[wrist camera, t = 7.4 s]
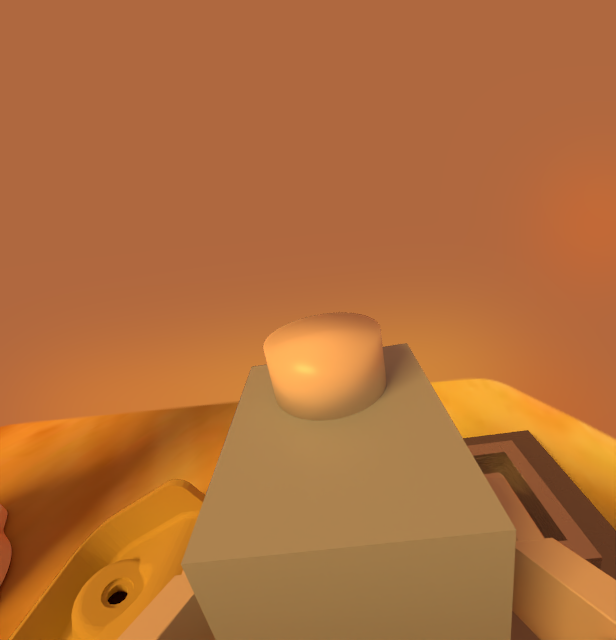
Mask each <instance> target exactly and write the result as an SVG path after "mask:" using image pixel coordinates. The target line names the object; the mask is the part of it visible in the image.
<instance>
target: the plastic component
mask: <svg viewBox="0 0 616 640" xmlns="http://www.w3.org/2000/svg"><path fill="white" fill-rule="evenodd" d="M204 498H205V495H204V494H203V493H202V492H200V491H199V490H198V489H197V488H195V487H194V486H193V485H192V484H190V483H189V482H187V481H185V480H180V479H174V480H169V481H168V482H166V483H164V484H163V485H161V486H160V487H158V488H156V489H155V490H153V491H151V492H150V493H148V494H146V495H145V496H143V497H142V498H140V499H138V500H137V501H135V502H133V503H132V504H130V505H129V506H127V507H125V508H124V509H122V510H120V511H119V512H117V513H116V514H114V515H113V516H111V517H110V518H109V519H107V520H106V521H105V522H104V523H103V524H101V525H100V526H99V527H98V528H97V529H96V530H95V531H94V532H93V533H92V534H91V535H90V536H89V537H88V538H87V539H86V540H85V541H84V542H83V543H82V544H81V545H80V547H79V548H78V549H77V550H76V551H75V552H74V554H73V555H72V556H71V557H70V559H69V560H68V561H67V563H66V564H65V565H64V567H63V568H62V569H61V571H60V572H59V573H58V574H57V576H56V577H55V578H54V580H53V581H52V582H51V584H50V585H49V586H48V588H47V589H46V590H45V592H44V593H43V594H42V596H41V597H40V598H39V600H38V601H37V602H36V603H35V605H34V606H33V607H32V609H31V610H30V611H29V613H28V614H27V615H26V617H25V618H24V619H23V621H22V622H21V623H20V625H19V626H18V627H17V628H16V630H15V631H14V632H13V634H12V635H11V636H10V638H9V639H8V640H117V639H118V638H119V637H120V635H121V634H122V633H123V632H124V631H125V630H126V629H127V628H128V627H129V626H130V624H131V623H132V622H133V621H134V620H135V619H136V618H137V617H138V616H139V615H140V614H141V612H142V611H143V610H144V609H145V608H146V607H147V606H148V605H149V604H150V603H151V601H152V600H153V599H154V598H155V597H156V596H157V595H158V594H159V593H160V592H161V590H162V589H163V588H164V587H165V586H166V585H167V584H168V583H169V582H170V581H171V579H172V578H173V577H174V576H175V575H181V574H182V571H183V568H182V566H181V562H182V560H183V557H184V554H185V551H186V548H187V546H188V543H189V540H190V537H191V535H192V532H193V529H194V526H195V523H196V521H197V518H198V515H199V512H200V509H201V507H202V504H203V501H204ZM117 591H124V592H127V596H126V598H125V599H124V600H123V601H122V602H121V603H119V604H116V605H113V604H109V602H108V599H109V598H110V597H111V595H113V594H114V593H116V592H117Z"/></svg>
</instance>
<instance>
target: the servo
mask: <svg viewBox="0 0 616 640" xmlns="http://www.w3.org/2000/svg"><path fill="white" fill-rule="evenodd" d="M263 350H264V354H265V358H266V362H267V365H260V366H253V367H251V370H250V373H249V376H248V379H247V382H246V384H245V387H244V390H243V393H242V395H241V398H240V401H239V404H238V406H237V409H236V412H235V415H234V418H233V420H232V423H231V426H230V429H229V431H228V434H227V437H226V440H225V443H224V445H223V448H222V451H221V454H220V457H219V459H218V462H217V465H216V468H215V470H214V473H213V476H212V479H211V482H210V484H209V487H208V490H207V493H206V496H205V498H204V501H203V504H202V507H201V509H200V512H199V515H198V518H197V521H196V523H195V526H194V529H193V532H192V535H191V537H190V540H189V543H188V546H187V548H186V551H185V554H184V557H183V560H182V562H181V566H182V568H183V570H184V572H185V575H186V577H187V579H188V581H189V583H190V585H191V588H192V590H193V592H194V594H195V596H196V598H197V601H198V603H199V605H200V607H201V609H202V611H203V614H204V616H205V618H206V620H207V622H208V624H209V627H210V629H211V631H212V633H213V635H214V637H215V640H511V623H512V603H513V584H514V564H515V545H516V528H515V527H514V525H513V523H512V522H511V520H510V518H509V517H508V515H507V513H506V511H505V510H504V508H503V506H502V505H501V503H500V501H499V499H498V498H497V496H496V494H495V493H494V491H493V489H492V488H491V486H490V484H489V482H488V481H487V479H486V477H485V476H484V474H483V472H482V470H481V469H480V467H479V465H478V464H477V462H476V460H475V459H474V457H473V455H472V453H471V452H470V450H469V448H468V447H467V445H466V443H465V441H464V440H463V438H462V436H461V435H460V433H459V431H458V430H457V428H456V426H455V424H454V423H453V421H452V419H451V418H450V416H449V414H448V413H447V411H446V409H445V407H444V406H443V404H442V402H441V401H440V399H439V397H438V395H437V394H436V392H435V390H434V389H433V387H432V385H431V384H430V382H429V380H428V378H427V377H426V375H425V373H424V372H423V370H422V368H421V366H420V365H419V363H418V361H417V360H416V358H415V356H414V355H413V353H412V351H411V349H410V348H409V346H408V344H407V343H405V344H399V345H393V346H386V347H382V338H381V329H380V325H379V324H378V322H376V321H375V320H374V319H372V318H370V317H368V316H365V315H361V314H355V313H327V314H320V315H314V316H310V317H306V318H302V319H299V320H296V321H293V322H291V323H289V324H286V325H284V326H282V327H280V328H279V329H277V330H276V331H274V332H273V333H272V334H270V335H269V336H268V337H267V339H266V340H265V342H264V345H263Z"/></svg>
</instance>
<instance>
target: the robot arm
mask: <svg viewBox="0 0 616 640" xmlns="http://www.w3.org/2000/svg"><path fill="white" fill-rule="evenodd" d="M484 476H485V477H486V479H487V481H488V482H489V484H490V486H491V488H492V489H493V491H494V493H495V494H496V496H497V498H498V499H499V501H500V503H501V505H502V506H503V508H504V510H505V511H506V513H507V515H508V517H509V518H510V520H511V522H512V523H513V525H514V527H515V528H516V545H515V564H514V584H513V603H512V611H513V612H514V613H515V614H516V615H517V616H518V617H519V618H520V619H521V620H522V621H523V622H524V623H525V624H526V625H527V626H528V627H529V628H530V629H531V630H532V631H533V633H534V634H535V635H536V636H537V637H538V638H539V639H540V640H616V580H615V579H614V578H612V577H611V576H609V575H608V574H606V573H605V572H603V571H602V570H600V569H599V568H597V567H596V566H594V565H593V564H591V563H590V562H588V561H587V560H585V559H584V558H582V557H581V556H579V555H578V554H576V553H575V552H573V551H572V550H570V549H569V548H567V547H566V546H564V545H563V544H561V543H560V542H558V541H557V540H555V539H554V538H544V536H543V535H542V533H541V532H540V530H539V529H538V527H537V526H536V524H535V523H534V521H533V520H532V518H531V517H530V515H529V514H528V512H527V511H526V509H525V508H524V506H523V505H522V503H521V502H520V500H519V499H518V497H517V495H516V494H515V492H514V491H513V489H512V488H511V486H510V485H509V483H508V482H507V480H506V479H505V477H504V476H503V475H502V474H500V473H499V472H498V473H490V474H484ZM7 515H8V512H7V510H6V509H5V508H4V507H3V506H2V505H1V504H0V586H1V584H2V582H3V580H4V578H5V576H6V573H7V571H8V568H9V565H10V561H11V554H12V549H11V544H10V541H9V540H8V538H7V537H6V535H5V534H4V530H3V529H4V526H5V523H6V519H7ZM117 640H215V637H214V635H213V633H212V631H211V629H210V627H209V624H208V622H207V620H206V618H205V616H204V614H203V611H202V609H201V607H200V605H199V603H198V601H197V598H196V596H195V594H194V592H193V590H192V588H191V585H190V583H189V581H188V579H187V577H186V575H185V572H184V570H183V571H182V574H181V575H175V576H174V577H173V578H172V579H171V581H170V582H169V583H168V584H167V585H166V586H165V587H164V588H163V589H162V590H161V592H160V593H159V594H158V595H157V596H156V597H155V598H154V599H153V600H152V601H151V603H150V604H149V605H148V606H147V607H146V608H145V609H144V610H143V611H142V612H141V614H140V615H139V616H138V617H137V618H136V619H135V620H134V621H133V622H132V623H131V624H130V626H129V627H128V628H127V629H126V630H125V631H124V632H123V633H122V634H121V635H120V637H119V638H118V639H117Z"/></svg>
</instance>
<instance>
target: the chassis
mask: <svg viewBox="0 0 616 640" xmlns="http://www.w3.org/2000/svg"><path fill="white" fill-rule="evenodd" d="M463 440H464V441H465V443H466V445H467V447H468V448H469V450H470V452H471V453H472V455H473V457H474V459H475V460H476V462H477V464H478V465H479V467H480V469H481V470H482V472H483V474H490V473H498V472H499V473H500V474H502V475H503V476H504V477H505V479H506V480H507V482H508V483H509V485H510V486H511V488H512V489H513V491H514V492H515V494H516V495H517V497H518V499H519V500H520V502H521V503H522V505H523V506H524V508H525V509H526V511H527V512H528V514H529V515H530V517H531V518H532V520H533V521H534V523H535V524H536V526H537V527H538V529H539V530H540V532H541V533H542V535H543V536H544V538H554V539H555V540H557V541H558V542H560V543H561V544H563V545H564V546H566V547H567V548H569V549H570V550H572V551H573V552H575V553H576V554H578V555H579V556H581V557H582V558H584V559H585V560H587V561H588V562H590V563H591V564H593V565H594V566H596V567H597V568H599V569H600V570H602V571H603V572H605V573H606V574H608V575H609V576H611V577H612V578H614V579H615V580H616V531H615V530H614V528H613V527H612V526H611V525H610V524H609V523H608V521H607V520H606V519H605V518H604V517H603V516H602V515H601V513H600V512H599V511H598V510H597V509H596V508H595V507H594V505H593V504H592V503H591V502H590V501H589V500H588V499H587V497H586V496H585V495H584V494H583V493H582V492H581V491H580V489H579V488H578V487H577V486H576V485H575V484H574V483H573V481H572V480H571V479H570V478H569V477H568V476H567V474H566V473H565V472H564V471H563V470H562V469H561V468H560V466H559V465H558V464H557V463H556V462H555V461H554V460H553V458H552V457H551V456H550V455H549V454H548V453H547V452H546V450H545V449H544V448H543V447H542V446H541V445H540V444H539V442H538V441H537V440H536V439H535V438H534V437H533V436H532V434H531V433H530V432H529V431H528V430H527V431H519V432H511V433H503V434H495V435H487V436H479V437H471V438H463ZM511 640H540V639H539V638H538V637H537V636H536V635H535V634H534V633H533V631H532V630H531V629H530V628H529V627H528V626H527V625H526V624H525V623H524V622H523V621H522V620H521V619H520V618H519V617H518V616H517V615H516V614H515V613H514V612H513V611H512V623H511Z"/></svg>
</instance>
